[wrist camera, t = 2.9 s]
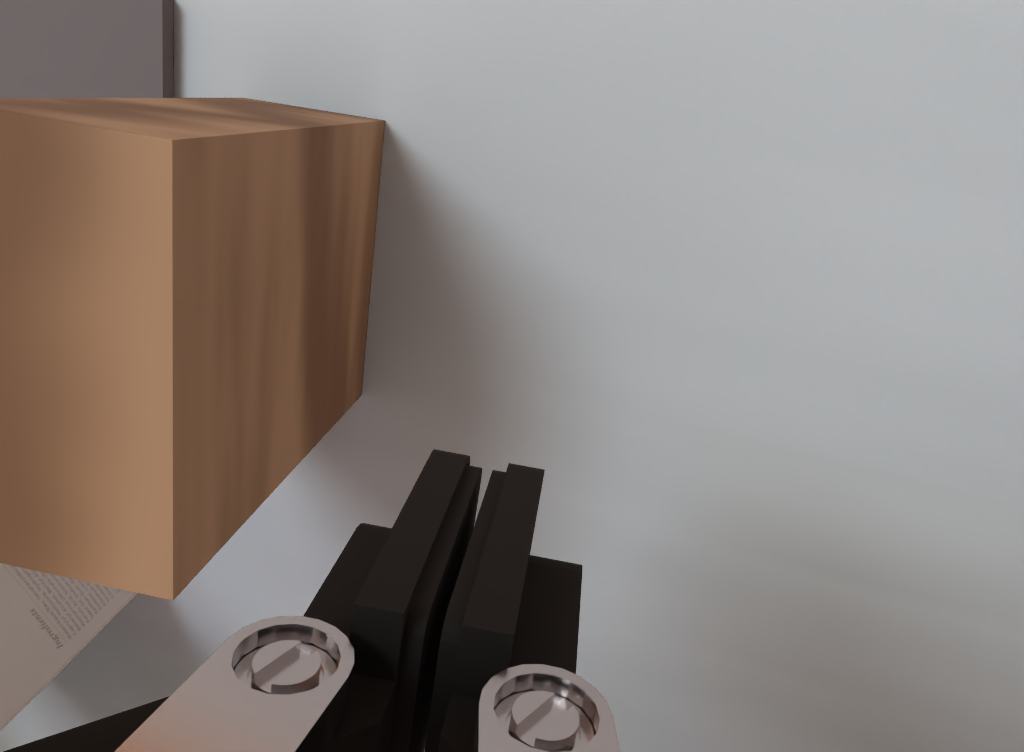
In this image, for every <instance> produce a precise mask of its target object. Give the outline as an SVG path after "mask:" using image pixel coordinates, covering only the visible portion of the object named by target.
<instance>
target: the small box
mask: <svg viewBox="0 0 1024 752" xmlns="http://www.w3.org/2000/svg"><path fill="white" fill-rule="evenodd" d="M137 594H138V593H136V592H131V591H126V590H122V589H117V588H113V587H108V586H103V585H99V584H94V583H90V582H85V581H80V580H76V579H71V578H67V577H62V576H57V575H53V574H48V573H44V572H39V571H35V570H30V569H25V568H21V567H16V566H12V565H7V564H2V563H0V731H1V730H2V729H3V728H4V727H5V726H6V725H7V724H8V723H9V722H10V721H11V720H12V719H13V718H14V717H15V716H16V715H17V714H18V713H19V712H20V711H21V710H22V709H23V708H24V707H25V706H26V705H27V704H28V703H29V702H30V701H31V700H32V699H33V698H34V697H35V696H36V695H38V694H39V693H40V692H41V691H42V690H43V689H44V688H45V686H46V685H47V684H48V683H49V682H50V681H52V680H53V679H54V678H55V677H56V676H57V675H58V674H59V673H60V672H61V671H62V670H63V669H64V668H65V667H66V666H67V665H68V664H69V663H70V662H71V660H72V659H73V658H74V657H75V656H77V655H78V654H79V653H80V652H81V650H82V649H83V648H84V647H85V646H86V645H87V644H88V643H89V642H90V641H91V640H92V639H93V638H94V637H95V636H96V635H97V634H98V633H99V632H100V631H101V630H102V629H103V628H104V627H105V626H106V625H107V624H108V623H109V622H110V621H111V620H112V619H113V618H114V617H115V616H116V615H117V614H118V613H119V612H120V611H121V610H122V609H123V608H124V607H125V606H126V605H127V604H128V603H129V602H130V601H131V600H132V599H133V598H134V597H135V596H136V595H137Z"/></svg>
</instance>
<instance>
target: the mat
mask: <svg viewBox="0 0 1024 752" xmlns="http://www.w3.org/2000/svg"><path fill="white" fill-rule="evenodd" d="M0 98H173V0H0Z"/></svg>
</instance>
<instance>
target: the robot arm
mask: <svg viewBox="0 0 1024 752" xmlns="http://www.w3.org/2000/svg"><path fill="white" fill-rule="evenodd" d="M544 471H545V470H543V469H537V468H532V467H526V466H521V465H516V464H510V463H509V465H508V468H507V471H506V472H500V471H495V470H493V471H492V474H491V477H490V480H489V483H488V486H487V489H486V493H485V496H484V499H483V502H482V505H481V508H480V511H479V514H478V517H477V520H476V523H475V517H476V510H477V503H478V496H479V490H480V483H481V476H482V468H479V467H473V466H470V456H467V455H461V454H456V453H451V452H445V451H440V450H433V451H432V453H431V455H430V457H429V459H428V460H427V462H426V464H425V466H424V468H423V470H422V472H421V474H420V476H419V478H418V480H417V482H416V484H415V485H414V487H413V489H412V491H411V493H410V495H409V497H408V499H407V501H406V503H405V505H404V507H403V508H402V510H401V512H400V514H399V516H398V518H397V520H396V522H395V524H394V526H393V528H392V529H391V528H386V527H381V526H375V525H370V524H365V523H362V524H360V525H359V526H358V527H357V528H356V530H355V532H354V533H353V535H352V537H351V538H350V540H349V542H348V543H347V545H346V546H345V548H344V550H343V551H342V553H341V555H340V556H339V558H338V560H337V561H336V563H335V565H334V566H333V568H332V570H331V571H330V573H329V575H328V576H327V578H326V579H325V581H324V583H323V584H322V586H321V588H320V589H319V591H318V593H317V594H316V596H315V598H314V599H313V601H312V603H311V604H310V606H309V608H308V609H307V611H306V612H305V614H304V616H278V617H273V618H268V619H263V620H259V621H257V622H254V623H252V624H250V625H247V626H245V627H243V628H241V629H240V630H238V631H237V632H236V633H234V634H233V635H232V636H230V637H229V638H228V639H227V640H226V641H225V642H224V643H223V644H222V645H221V646H220V647H219V648H218V649H217V650H216V651H215V652H214V653H213V654H212V655H211V656H210V657H209V658H208V659H207V660H206V661H205V662H204V663H203V664H202V665H201V666H200V667H199V668H198V669H197V670H196V671H195V672H194V673H193V674H192V675H191V676H190V677H189V678H188V679H187V680H186V681H185V682H184V683H183V684H182V685H181V686H180V687H179V688H178V689H177V690H176V691H175V692H174V693H173V694H172V695H171V696H169V697H166V698H163V699H160V700H157V701H154V702H151V703H148V704H145V705H142V706H139V707H136V708H133V709H130V710H127V711H124V712H121V713H118V714H115V715H112V716H109V717H106V718H103V719H100V720H97V721H94V722H91V723H88V724H85V725H82V726H79V727H76V728H73V729H70V730H67V731H64V732H61V733H58V734H55V735H52V736H49V737H46V738H43V739H40V740H37V741H34V742H31V743H28V744H25V745H22V746H19V747H16V748H13V749H10V750H7V751H4V752H424V750H425V752H621V751H620V746H619V741H618V736H617V731H616V726H615V721H614V717H613V714H612V712H611V709H610V707H609V704H608V702H607V700H606V699H605V698H604V697H603V695H602V694H601V693H600V692H599V691H598V690H597V688H596V687H595V686H593V685H592V684H590V683H589V682H588V681H586V680H585V679H583V678H582V677H581V676H579V675H576V660H577V645H578V629H579V613H580V598H581V582H582V565H579V564H574V563H569V562H563V561H558V560H553V559H548V558H542V557H537V556H532V555H530V550H531V544H532V539H533V533H534V527H535V522H536V516H537V510H538V505H539V499H540V493H541V488H542V482H543V476H544ZM474 523H475V526H474Z"/></svg>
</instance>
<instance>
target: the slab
mask: <svg viewBox="0 0 1024 752" xmlns="http://www.w3.org/2000/svg"><path fill="white" fill-rule="evenodd" d="M384 127H385V121H384V120H378V119H372V118H365V117H359V116H353V115H347V114H340V113H334V112H328V111H322V110H315V109H309V108H303V107H297V106H290V105H284V104H278V103H272V102H266V101H259V100H253V99H247V98H0V563H2V564H7V565H12V566H16V567H21V568H25V569H30V570H35V571H39V572H44V573H48V574H53V575H57V576H62V577H67V578H71V579H76V580H80V581H85V582H90V583H94V584H99V585H103V586H108V587H113V588H117V589H122V590H126V591H131V592H136V593H140V594H145V595H149V596H154V597H158V598H163V599H168V600H172V601H173V600H174V599H175V598H176V597H177V596H178V595H179V594H180V592H181V591H182V590H183V589H184V588H185V587H186V586H187V585H188V584H189V583H190V582H191V580H192V579H193V578H194V577H195V576H196V575H197V574H198V573H199V572H200V571H201V570H202V568H203V567H204V566H205V565H206V564H207V563H208V562H209V561H210V560H211V559H212V558H213V556H214V555H215V554H216V553H217V552H218V551H219V550H220V549H221V548H222V547H223V546H224V544H225V543H226V542H227V541H228V540H229V539H230V538H231V537H232V536H233V535H234V534H235V532H236V531H237V530H238V529H239V528H240V527H241V526H242V525H243V524H244V523H245V522H246V520H247V519H248V518H249V517H250V516H251V515H252V514H253V513H254V512H255V511H256V510H257V508H258V507H259V506H260V505H261V504H262V503H263V502H264V501H265V500H266V499H267V498H268V496H269V495H270V494H271V493H272V492H273V491H274V490H275V489H276V488H277V487H278V486H279V484H280V483H281V482H282V481H283V480H284V479H285V478H286V477H287V476H288V475H289V473H290V472H291V471H292V470H293V469H294V468H295V467H296V466H297V465H298V464H299V463H300V461H301V460H302V459H303V458H304V457H305V456H306V455H307V454H308V453H309V452H310V451H311V449H312V448H313V447H314V446H315V445H316V444H317V443H318V442H319V441H320V440H321V439H322V437H323V436H324V435H325V434H326V433H327V432H328V431H329V430H330V429H331V428H332V427H333V425H334V424H335V423H336V422H337V421H338V420H339V419H340V418H341V417H342V416H343V415H344V413H345V412H346V411H347V410H348V409H349V408H350V407H351V406H352V405H353V404H354V403H355V401H356V400H357V399H358V398H359V397H360V396H361V395H362V383H363V371H364V360H365V348H366V336H367V325H368V313H369V302H370V290H371V278H372V267H373V255H374V243H375V232H376V220H377V208H378V197H379V185H380V173H381V162H382V150H383V139H384Z"/></svg>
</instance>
